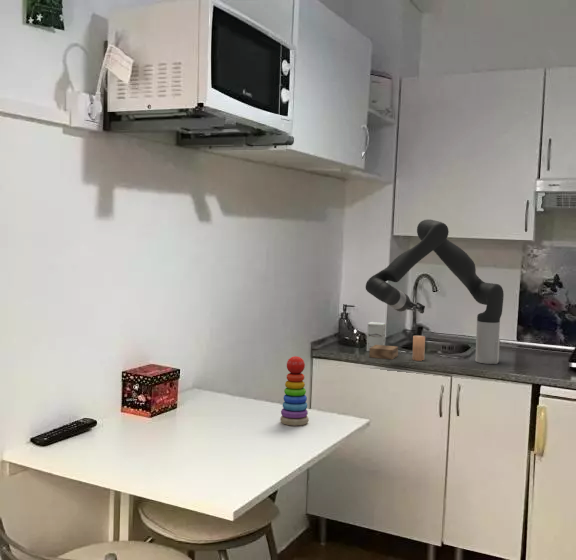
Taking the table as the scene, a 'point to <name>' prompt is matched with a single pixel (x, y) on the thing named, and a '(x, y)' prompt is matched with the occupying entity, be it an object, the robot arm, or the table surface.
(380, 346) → the base
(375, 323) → the supplement box
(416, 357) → the orange tan block
